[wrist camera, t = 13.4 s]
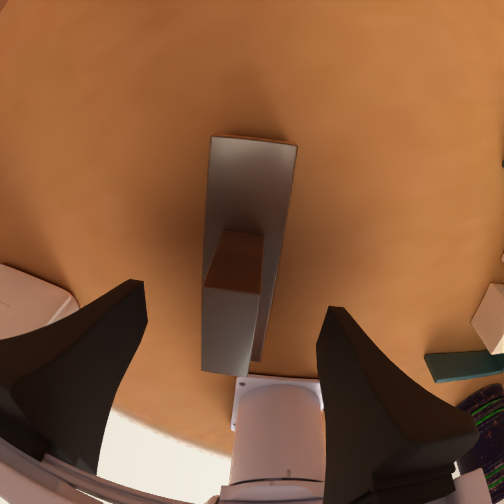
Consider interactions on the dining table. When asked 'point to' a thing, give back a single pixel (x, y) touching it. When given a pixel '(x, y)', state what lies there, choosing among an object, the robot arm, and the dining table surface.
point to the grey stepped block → (242, 246)
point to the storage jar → (486, 438)
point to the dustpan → (464, 364)
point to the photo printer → (30, 303)
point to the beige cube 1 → (491, 319)
